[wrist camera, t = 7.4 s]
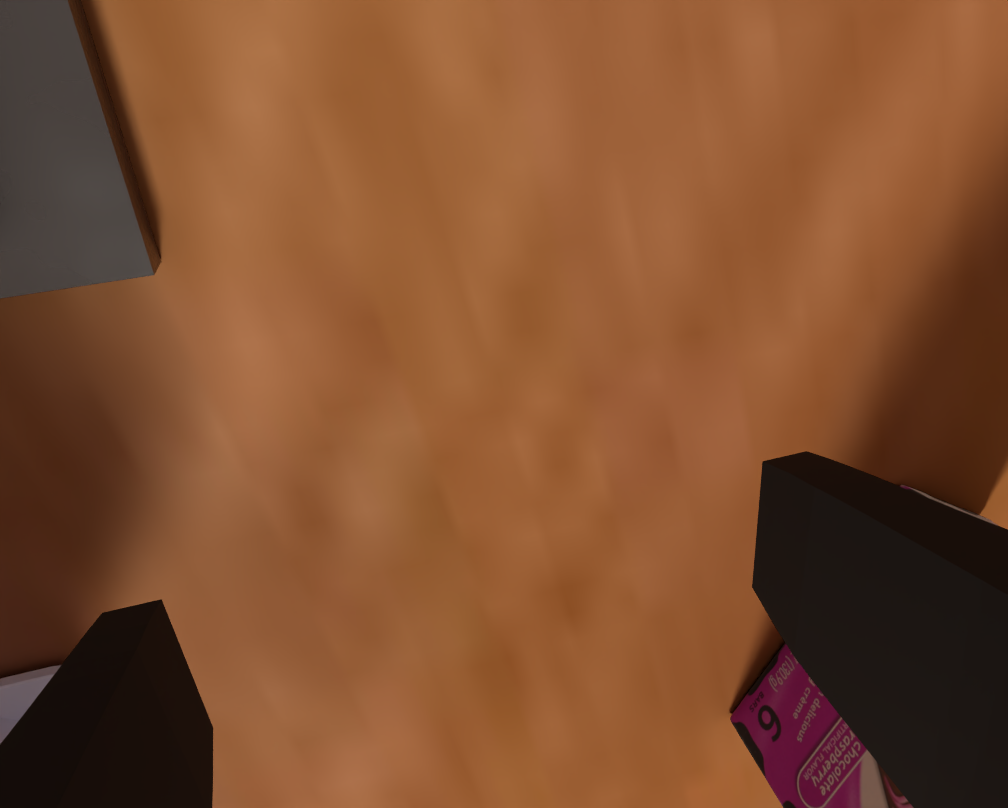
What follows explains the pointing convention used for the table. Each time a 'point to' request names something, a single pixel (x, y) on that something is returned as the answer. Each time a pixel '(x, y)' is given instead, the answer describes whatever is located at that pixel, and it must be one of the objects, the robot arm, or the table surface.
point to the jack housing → (63, 159)
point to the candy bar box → (811, 739)
